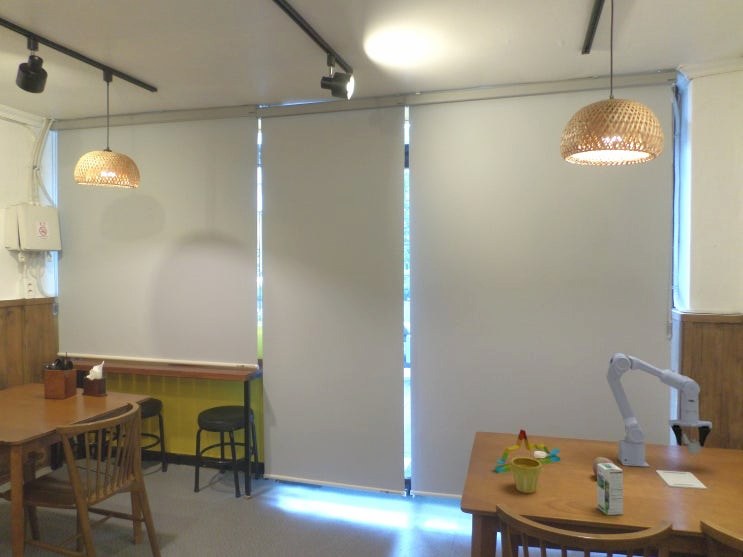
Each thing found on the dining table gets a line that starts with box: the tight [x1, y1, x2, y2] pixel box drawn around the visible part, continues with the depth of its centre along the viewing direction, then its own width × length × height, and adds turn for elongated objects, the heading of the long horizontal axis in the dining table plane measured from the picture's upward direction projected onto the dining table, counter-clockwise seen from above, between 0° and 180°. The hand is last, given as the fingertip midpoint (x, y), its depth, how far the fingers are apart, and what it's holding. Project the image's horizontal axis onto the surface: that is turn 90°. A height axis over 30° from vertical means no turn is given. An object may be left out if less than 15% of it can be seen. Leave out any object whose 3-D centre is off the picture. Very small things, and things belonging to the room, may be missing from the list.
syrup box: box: [596, 463, 624, 516], centre depth 158 cm, size 6×6×14 cm
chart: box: [494, 428, 561, 474], centre depth 197 cm, size 30×3×15 cm, turn 112°
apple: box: [591, 456, 615, 477], centre depth 183 cm, size 8×8×8 cm
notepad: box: [655, 469, 708, 490], centre depth 181 cm, size 12×14×1 cm
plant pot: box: [510, 456, 542, 494], centre depth 176 cm, size 10×10×10 cm
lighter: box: [681, 431, 702, 455], centre depth 191 cm, size 7×2×8 cm, turn 90°
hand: (690, 445), depth 191 cm, fingers closed on lighter, 7 cm apart
